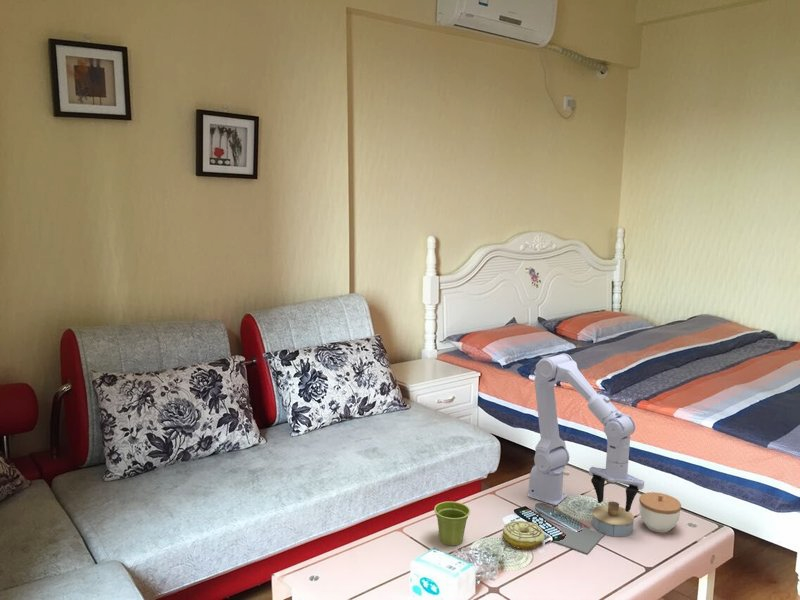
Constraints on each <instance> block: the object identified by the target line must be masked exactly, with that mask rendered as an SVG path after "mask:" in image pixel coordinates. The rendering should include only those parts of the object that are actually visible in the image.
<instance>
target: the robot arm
mask: <svg viewBox="0 0 800 600" xmlns="http://www.w3.org/2000/svg"><path fill="white" fill-rule="evenodd" d="M535 372H536V373H535V377H534V390H535V397H536V407H537V416H538V425H539V434H540V438H539V439H540V440H539V441H538V442H537V444H536V446H535V449H534V450H535V454H534V458H533V460H534V465H533V466H532V468H531V471H530V474H529V479H528V480H529V482H528V483H529V484H528V494H527V497H528V498H532V499H534V500H538V501H540V502H542V503H543V502H544V503H547V504H549V505H552V506H558V505H559V504H560V503H561V502H563V500H565V499H566V497H567V496H568V494H566V493H563V483H564V470H565V469H566V468H565V467H566V465H567V464H568V463H569V462H570V453H569V451H568V449H567V446H566V442H565V441H564V440H563V439H562V438H561V437H560V431H559V430H560V429H559V423H558V421H559V420H558V414H557V413H558V412H557V403H556V395H555V393H556V392H555V385H556V384H557V383H558V382H563V383H568V384H569V385H570V386H571V387H572V388H573V389H575V391H577V393H579V394H580V395H581V397H583V399H584V400H586V401H587V407H588V410H589V411H590V412H591V413H592V414H593V415H594V417H595V418H596V419H597V420H598V421H599V422H600V423H601V424H602V426H603V432H604V433H605V436H606V443H607V445H606V460H605V468H603V467H602V468H601V467H595V466H591V467H590V468H589V469H588V476H590V477H592V478H591V480H590V481H591V484H592V486H593V488H594V491H595V494H596V498H597V503H598V504H601V503H603V502H604V494H605V493H604V491H605V490H604V489H605V482H606V480H607V481H608V482H610V483H619V484H623V485H625V486H627V487H626V488H625V495H626V498H625V507H624V509H625V511H626V512H629V511H631V510H632V509H631V508H632V505H633V502H634V499H635V497H636V495H637V493H638V492H639V490H640V491H642V490H643V489H644V487H645V480H642V479H639V478H637V477H635V476H633V475H631V474H628V470H629V457H630V455H629V454H630V448H631V447H630V445H631V444H630V443H631V435H633V434H634V432H635V430H636V425H635V422H634V420H633V418H632V417H631V416H630V415H629V414H624V413H622V412H621V410H618V408H617V407H616V406H615V405H614V404H613V403H612V401H611V399H610V398H609V396H606V395H605V394H600V393H598V392H596V390H595V389H594V387H593V386H592V385H591V384H590V383H589V381H588V380H587V379H586V377H585V376H584V375H583V374H582V372H581V371H580V370H579V368H578V363H577V362H576V361H575V360H574V359H573V358H572V357H571V355H569V354H567V353H560V354H557V355H552V356H547V357H542V358H541V359H540V360H539V361H538V362H537V363H536V364H535Z"/></svg>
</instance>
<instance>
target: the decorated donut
mask: <svg viewBox="0 0 800 600" xmlns="http://www.w3.org/2000/svg"><path fill="white" fill-rule="evenodd" d="M502 536H503V538H504V540H505V541H506V543H507V544H509V543H510V544H511V545H510V544H509V545H510V546H512V545H513V546H512V547H514V546H515V547H514V548H517V547H519V548H518V549H520V548H524V549H525V550H531V549H534V548H536V547H538V546H539V545H541V544H542V543H544V542H545V541H546V540H545V536H546V535H545V532H544V530H543V529H542V528H541V527H540V526H539V525H538V524H536V523H535V522H530V521H524V520H517V521H511V522H508V523H507V522H506V523H505V525H504V527H503V528H502Z"/></svg>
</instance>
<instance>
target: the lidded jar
mask: <svg viewBox="0 0 800 600" xmlns="http://www.w3.org/2000/svg"><path fill="white" fill-rule="evenodd" d="M638 499H639V505H638V506H639V507H638V509H639V516H640V519H641V520H642V522H643V523H644V525H645V526H646V527H647V529H649V530H650V531H653V532H656V533H659V534H660V533H661V534H662V533H668V532H669V531H671V530H672V529H674V528H675V526H677V524H678V523H679V522H678V521H679V519H680V515H681V509H682V504H681V502H680V500H678V499H677V498H675V497H674V496H671V495H669V494H666V493H662V492H655V491H654V492H645V493H642V494H641V495H640V496H639V498H638Z"/></svg>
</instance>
